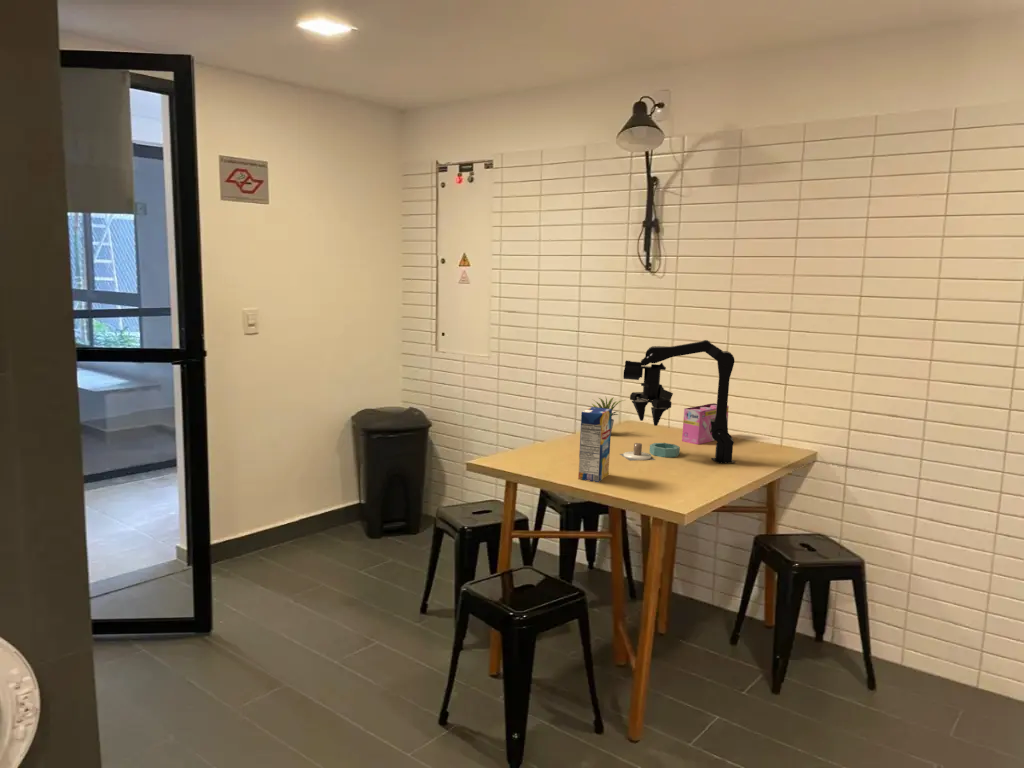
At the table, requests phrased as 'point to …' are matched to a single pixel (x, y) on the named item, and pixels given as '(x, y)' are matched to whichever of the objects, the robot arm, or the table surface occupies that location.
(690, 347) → the robot arm
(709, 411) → the gum box
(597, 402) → the house plant
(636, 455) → the lid
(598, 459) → the beverage box
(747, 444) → the table surface
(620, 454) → the mat
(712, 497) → the table surface
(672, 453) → the bowl
